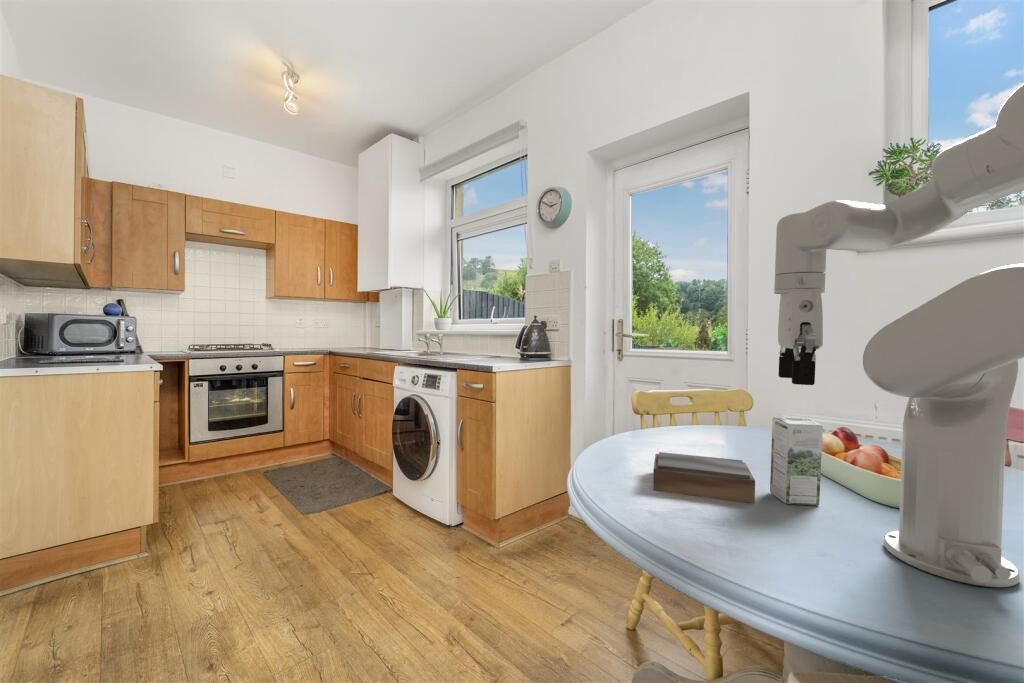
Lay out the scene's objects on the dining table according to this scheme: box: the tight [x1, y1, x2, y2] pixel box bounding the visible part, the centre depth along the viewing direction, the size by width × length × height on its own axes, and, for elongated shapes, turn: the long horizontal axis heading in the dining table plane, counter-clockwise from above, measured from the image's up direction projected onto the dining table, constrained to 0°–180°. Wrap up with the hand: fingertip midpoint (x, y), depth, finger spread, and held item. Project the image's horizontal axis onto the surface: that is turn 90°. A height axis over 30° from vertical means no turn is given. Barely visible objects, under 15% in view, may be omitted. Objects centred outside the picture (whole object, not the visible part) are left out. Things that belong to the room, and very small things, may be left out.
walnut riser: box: [652, 451, 756, 504], centre depth 84 cm, size 11×17×5 cm, turn 70°
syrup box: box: [769, 416, 824, 506], centre depth 78 cm, size 6×6×14 cm
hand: (795, 380), depth 78 cm, fingers open, 9 cm apart
